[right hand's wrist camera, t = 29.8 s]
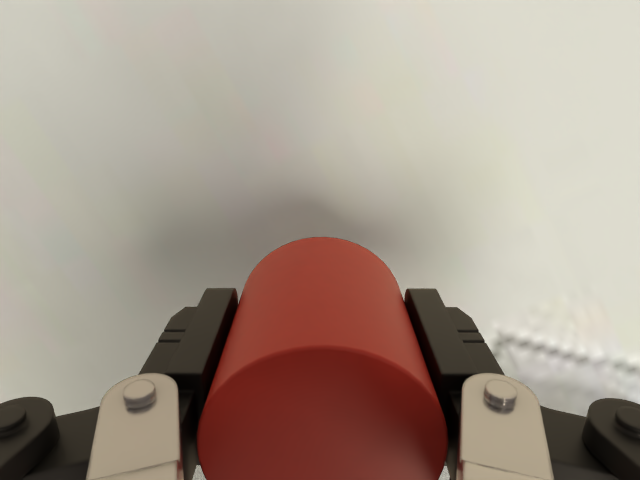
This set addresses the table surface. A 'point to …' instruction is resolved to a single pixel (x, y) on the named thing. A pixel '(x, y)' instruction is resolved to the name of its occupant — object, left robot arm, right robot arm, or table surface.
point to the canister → (322, 376)
